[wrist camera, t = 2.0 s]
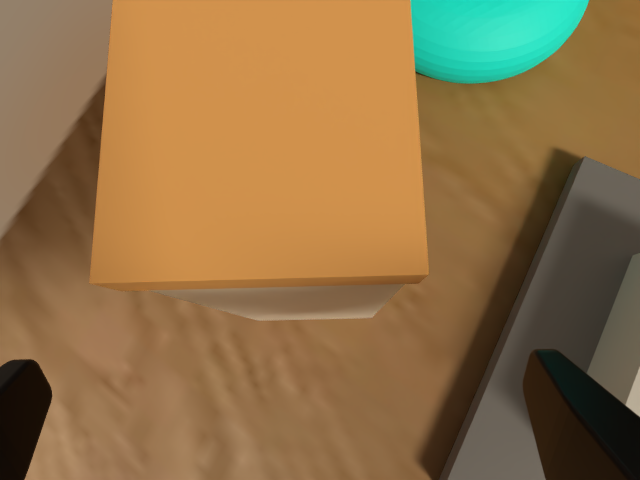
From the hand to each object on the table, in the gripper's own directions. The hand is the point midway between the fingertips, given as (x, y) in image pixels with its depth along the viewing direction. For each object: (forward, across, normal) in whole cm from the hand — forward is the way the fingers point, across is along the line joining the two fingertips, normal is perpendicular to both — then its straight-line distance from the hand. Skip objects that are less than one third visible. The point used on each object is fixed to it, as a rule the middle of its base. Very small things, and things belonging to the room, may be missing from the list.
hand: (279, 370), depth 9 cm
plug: (+10, 0, +5) cm, 11 cm away
